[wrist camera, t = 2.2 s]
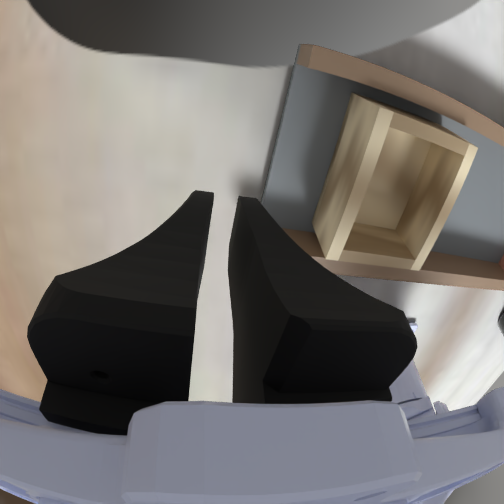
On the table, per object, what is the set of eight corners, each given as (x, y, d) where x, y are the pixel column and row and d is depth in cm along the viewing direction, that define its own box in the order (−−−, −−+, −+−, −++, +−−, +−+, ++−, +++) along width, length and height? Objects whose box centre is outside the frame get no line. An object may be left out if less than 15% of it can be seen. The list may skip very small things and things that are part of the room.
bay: (510, 272, 27) (533, 302, 24) (253, 234, 23) (258, 282, 19) (562, 172, 20) (593, 196, 16) (299, 43, 15) (322, 45, 11)
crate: (396, 236, 23) (419, 270, 20) (311, 222, 22) (325, 259, 18) (442, 126, 18) (478, 147, 14) (351, 92, 16) (380, 107, 13)
